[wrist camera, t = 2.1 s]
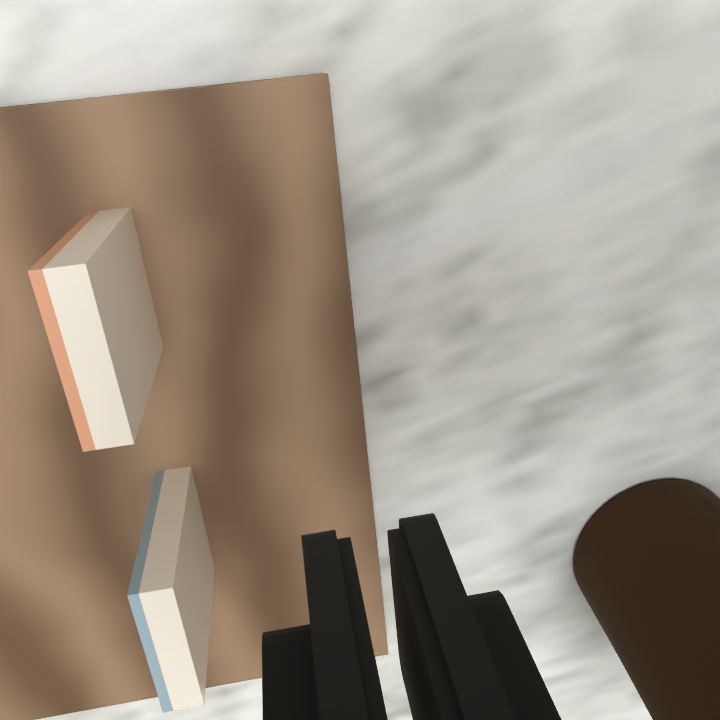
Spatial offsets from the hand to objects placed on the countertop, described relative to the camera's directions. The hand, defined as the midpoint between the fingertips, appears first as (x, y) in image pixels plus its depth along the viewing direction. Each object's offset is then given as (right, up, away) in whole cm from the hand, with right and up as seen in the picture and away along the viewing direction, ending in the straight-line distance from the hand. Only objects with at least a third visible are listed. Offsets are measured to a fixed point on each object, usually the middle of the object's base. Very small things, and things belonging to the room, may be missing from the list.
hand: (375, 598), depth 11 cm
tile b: (-9, -4, +22) cm, 24 cm away
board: (-12, 0, +21) cm, 25 cm away
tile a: (-10, +7, +17) cm, 21 cm away
